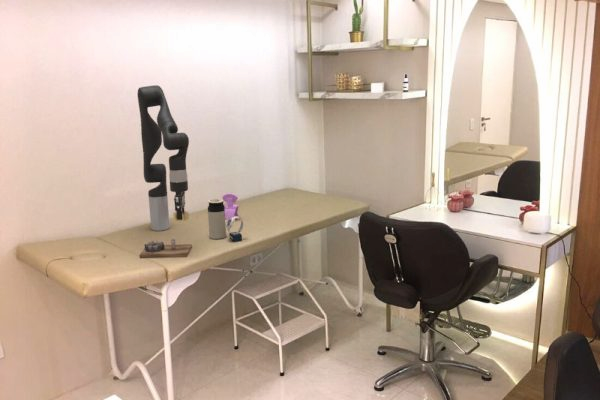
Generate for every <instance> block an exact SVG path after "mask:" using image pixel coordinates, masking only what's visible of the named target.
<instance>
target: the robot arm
mask: <svg viewBox="0 0 600 400" xmlns="http://www.w3.org/2000/svg"><path fill="white" fill-rule="evenodd" d="M137 102H138V108H139V115H140V116H139V117H140V127H141V128H140V130H141V131H140V136H141V142H142V143H141V144H142V153H143V155H142V156H143V158H142V159H143V160H142V161H143V179H144V181H145V183H148V184H151V183H159V184H158V185H157V186H155V187H154V188H151V189H149V190H148V193H147V195H148V205H149V206H148V207H149V217H150V229H151V230H152V231H154V232H155V231H157V232H160V231H161V232H162V231H167V230H168V229H170V227H171V226H170V215H169V214H170V213H169V200H168V188H167V187H168V186H167V184H168V183H167V166H166V165H165V164H164V163H152V160H153V158H154V157H155V155H156V153H157V152H158V151H159V149H160V148H161V146H162V143H163V147H164V148H165V149H166V150H168V151H177V153H175V154H174V155H173V154H172V155H171V156H169V158H168V166H169V170H168V172H169V173H168V174H169V175H168V177H169V178H168V179H169V190H170V192H172V193H175V195H174V198H173V201H174V212H177V220H182V219H183V218H182V211H185V207H186V191H189V184H188V183H189V182H188V181H189V180H188V172H187V153H188V149H189V143H190V140H189V136H188V134H186V133H185V132H179V127H178V125H177V124H176V121H175V119H174V117H173V116H172V113H171V110H170V107H169V105H168V101H167V98H166V95H165V93H164V90H163V88H162V87H161V86H160V85H158V84H157V85H147V86H140V87H138V89H137ZM152 107H153V108H154V107H160V108H159V111H158V113H157V116H156V121H155V120H154V119H153V117H152V115H150V113H149V110H148V108H152Z"/></svg>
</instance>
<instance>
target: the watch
mask: <svg viewBox="0 0 600 400" xmlns="http://www.w3.org/2000/svg"><path fill="white" fill-rule="evenodd" d="M236 219H237V220H240V222H241V223H240V226H239V228H238V230H237V231H234V232H231V229H232V227H233V226H234V220H236ZM244 227H245V226H244V220H243V219H242V218H240V217H233V218H230V219H229V220H228V222H226V230H227V231H228V232H229V240H230V241H231V242H232V243H239V242H243V235H242V233H241V232H242V231H243V230H244V229H243V228H244Z"/></svg>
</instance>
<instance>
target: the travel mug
mask: <svg viewBox="0 0 600 400" xmlns="http://www.w3.org/2000/svg"><path fill="white" fill-rule="evenodd" d="M224 202H225V201H224V200H223V199H222V198H213V199H208V200H207V203H208V206H207V219H208V221H207V222H208V237H209V238H210V239H212V240H221V239H224V238H226V237H227V231H226V230H227V227H226V224H227V222H225V217H226V214H225V206H226V205H225V204H224Z"/></svg>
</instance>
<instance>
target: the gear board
mask: <svg viewBox="0 0 600 400" xmlns="http://www.w3.org/2000/svg"><path fill="white" fill-rule="evenodd" d="M143 246H144V248H143V250H142V251H141V252H140V254H139V259H150V258H151V259H153V258H155V259H156V258H185V257H186V258H187V257H188V256H189V254H190V252H191V250H192V248H193V245H192V244H188V243H187V244H186V243H185V244H176V239H175V238H173V237H172V238H171V239H170V244H165V243H164V242H163V241H158V240H157V241H155V240H151V241H150V242H147V243H144V245H143Z"/></svg>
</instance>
